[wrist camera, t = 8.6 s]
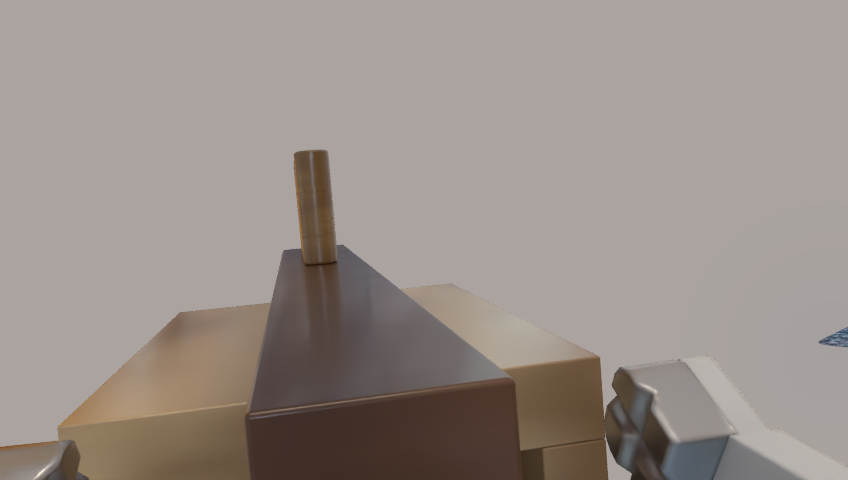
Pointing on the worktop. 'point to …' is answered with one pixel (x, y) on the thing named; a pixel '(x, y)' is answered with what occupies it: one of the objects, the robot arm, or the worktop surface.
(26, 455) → the robot arm
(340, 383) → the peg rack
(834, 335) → the worktop surface
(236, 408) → the birch stand
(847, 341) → the worktop surface
